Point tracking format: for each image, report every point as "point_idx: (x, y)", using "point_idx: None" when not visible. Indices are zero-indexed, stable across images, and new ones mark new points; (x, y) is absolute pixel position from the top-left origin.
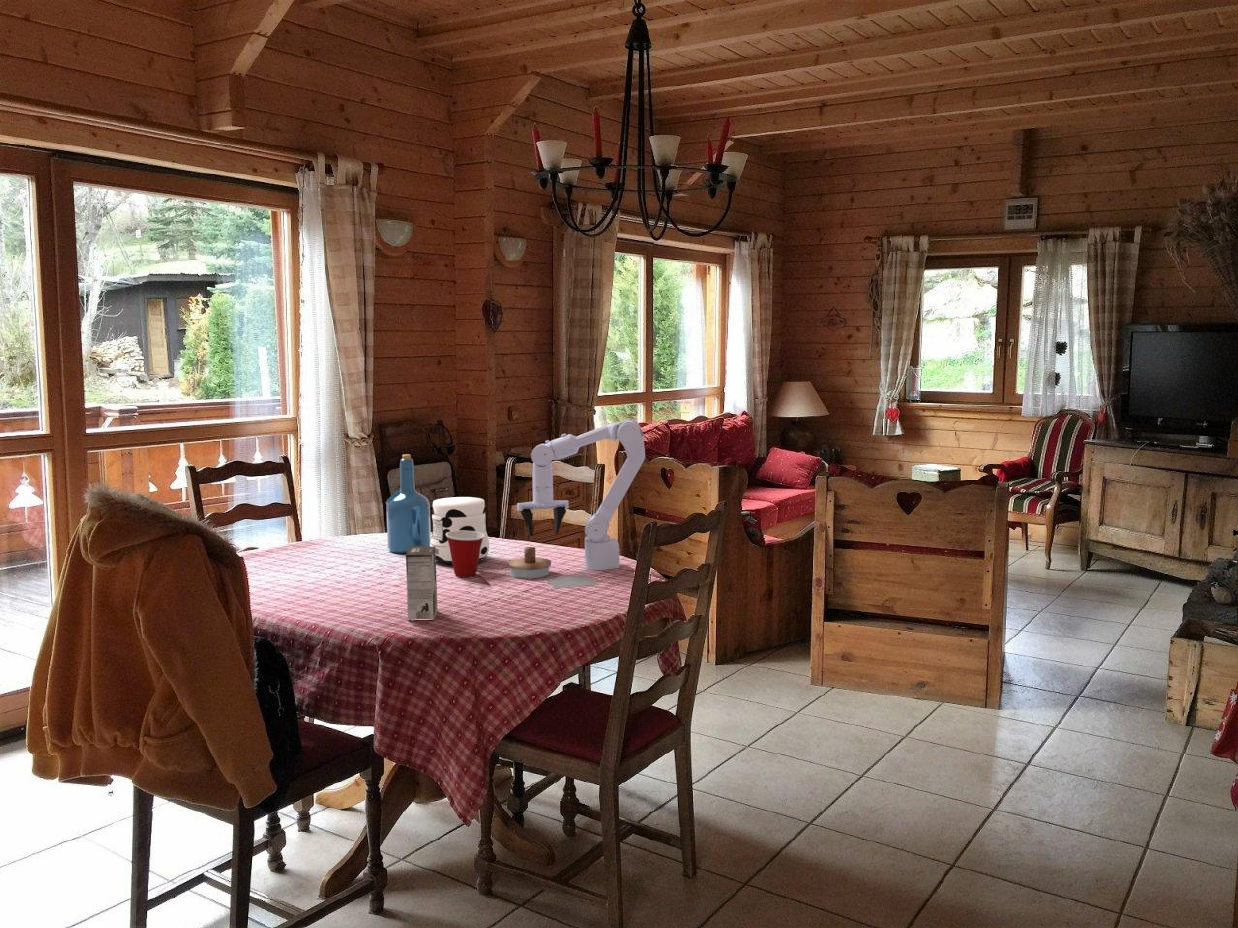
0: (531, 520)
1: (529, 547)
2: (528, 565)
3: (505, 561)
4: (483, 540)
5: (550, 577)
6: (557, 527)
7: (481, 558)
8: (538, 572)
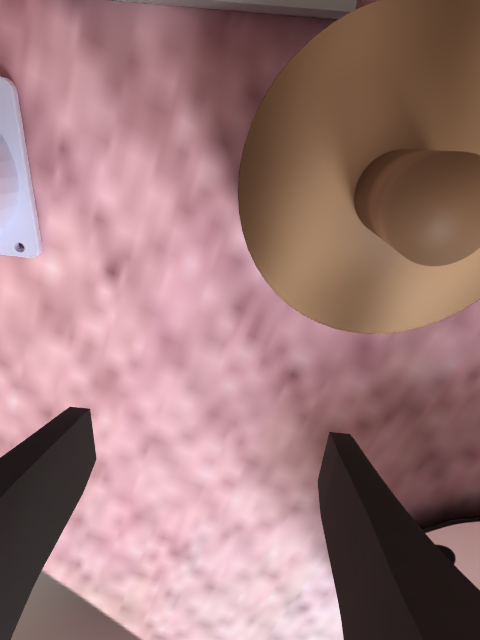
0: (409, 584)
1: (435, 235)
2: (468, 79)
3: (319, 502)
4: None
5: (300, 8)
6: (43, 444)
7: (427, 530)
8: None
